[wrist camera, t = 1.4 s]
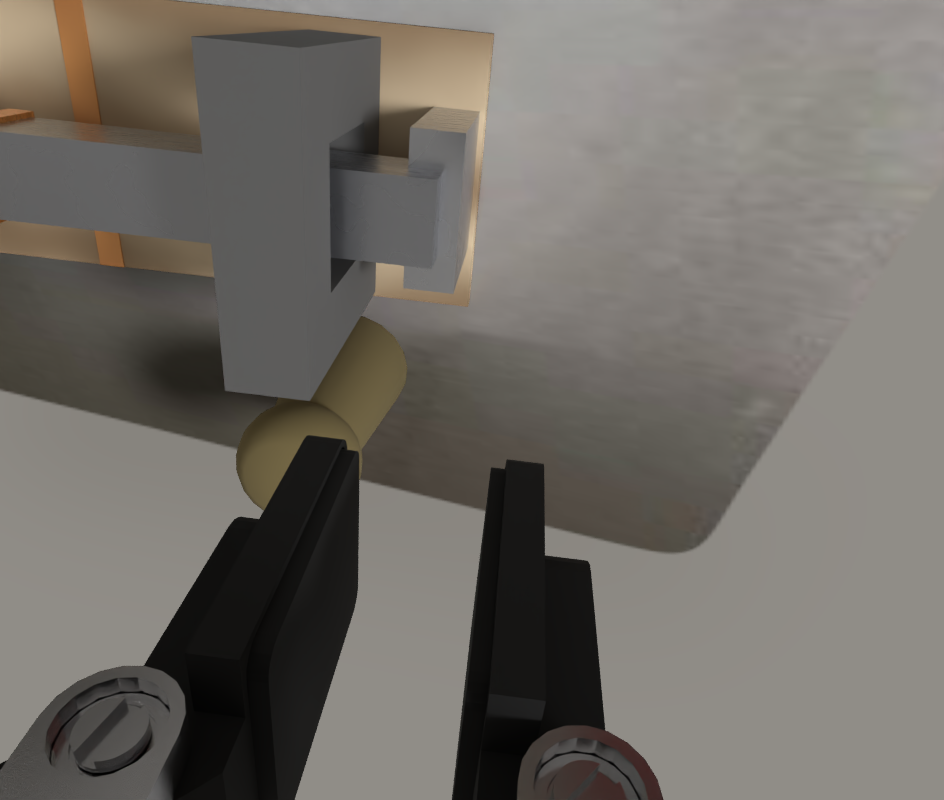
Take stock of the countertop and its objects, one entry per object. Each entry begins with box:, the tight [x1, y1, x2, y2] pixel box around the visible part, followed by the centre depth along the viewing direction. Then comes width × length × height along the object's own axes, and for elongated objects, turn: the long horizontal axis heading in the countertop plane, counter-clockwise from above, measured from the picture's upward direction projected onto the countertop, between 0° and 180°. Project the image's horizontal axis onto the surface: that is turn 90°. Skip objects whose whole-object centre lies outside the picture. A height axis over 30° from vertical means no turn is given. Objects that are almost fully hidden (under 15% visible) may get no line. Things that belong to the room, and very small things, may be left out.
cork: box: [236, 316, 407, 510], centre depth 33 cm, size 6×6×11 cm
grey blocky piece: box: [0, 107, 480, 294], centre depth 29 cm, size 6×26×8 cm, turn 85°
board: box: [0, 0, 494, 307], centre depth 32 cm, size 12×26×1 cm, turn 85°
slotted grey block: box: [191, 29, 381, 401], centre depth 26 cm, size 11×3×11 cm, turn 175°
